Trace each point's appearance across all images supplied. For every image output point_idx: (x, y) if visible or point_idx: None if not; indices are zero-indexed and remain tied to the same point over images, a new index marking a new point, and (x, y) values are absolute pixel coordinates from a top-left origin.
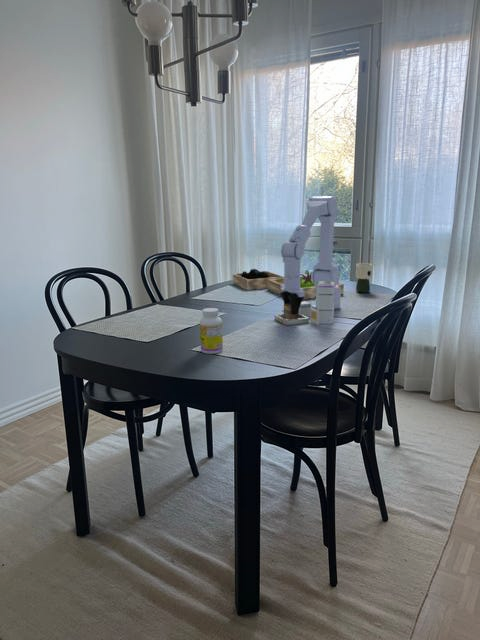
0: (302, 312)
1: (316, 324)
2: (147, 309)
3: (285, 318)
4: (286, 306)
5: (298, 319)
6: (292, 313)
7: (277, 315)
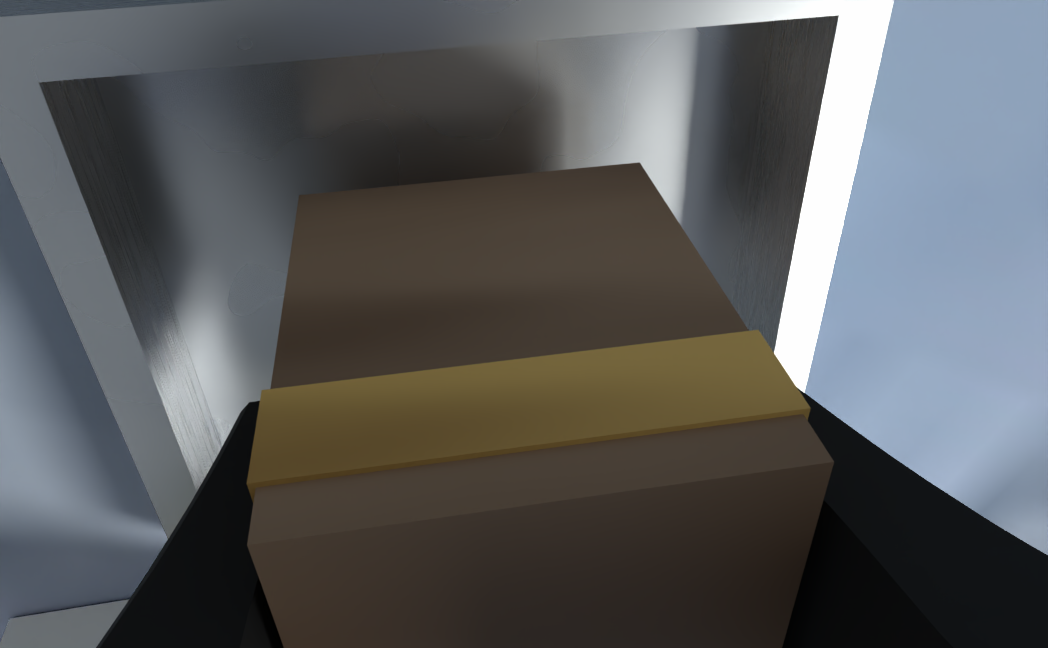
0: None
1: (51, 613)
2: None
3: (700, 221)
4: (525, 453)
5: (118, 420)
6: (243, 418)
7: (796, 14)
